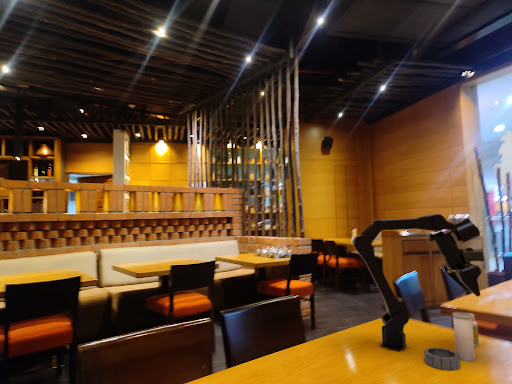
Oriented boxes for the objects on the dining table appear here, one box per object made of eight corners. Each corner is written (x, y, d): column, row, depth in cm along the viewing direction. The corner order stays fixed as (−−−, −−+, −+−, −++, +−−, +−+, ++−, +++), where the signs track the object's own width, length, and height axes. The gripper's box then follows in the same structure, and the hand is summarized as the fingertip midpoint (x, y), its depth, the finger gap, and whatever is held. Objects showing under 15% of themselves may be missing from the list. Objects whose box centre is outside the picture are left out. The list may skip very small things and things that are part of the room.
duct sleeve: (453, 358, 103) (450, 314, 104) (457, 353, 106) (455, 311, 107) (473, 363, 99) (469, 317, 100) (477, 357, 103) (473, 314, 104)
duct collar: (420, 363, 99) (420, 353, 99) (430, 355, 105) (430, 345, 106) (455, 373, 93) (454, 361, 93) (463, 362, 99) (462, 352, 99)
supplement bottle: (478, 347, 111) (476, 317, 112) (459, 344, 114) (457, 314, 115) (479, 342, 115) (477, 313, 116) (461, 339, 118) (459, 311, 119)
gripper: (485, 240, 102) (512, 289, 99) (462, 238, 120) (484, 279, 117) (449, 254, 104) (475, 303, 101) (431, 250, 122) (453, 291, 119)
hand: (472, 293), depth 109 cm, fingers open, 9 cm apart
